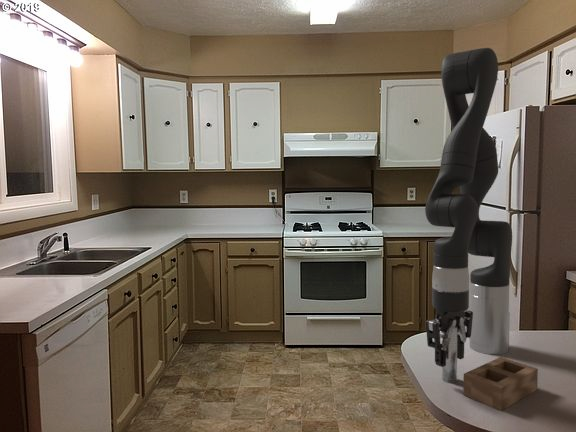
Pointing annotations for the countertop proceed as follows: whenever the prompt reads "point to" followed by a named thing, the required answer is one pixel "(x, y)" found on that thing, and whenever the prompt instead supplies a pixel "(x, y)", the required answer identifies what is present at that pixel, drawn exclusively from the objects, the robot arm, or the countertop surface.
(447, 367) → the peg
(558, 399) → the countertop surface
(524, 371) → the hole block
